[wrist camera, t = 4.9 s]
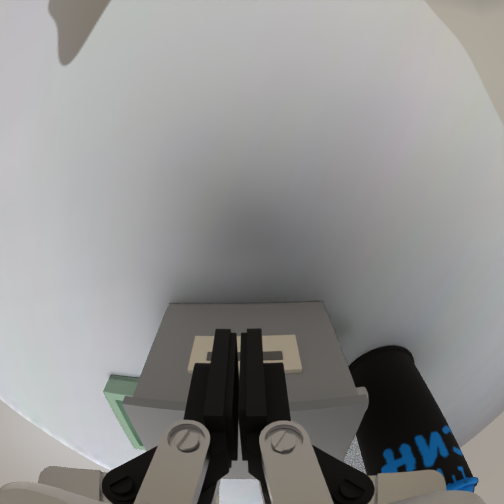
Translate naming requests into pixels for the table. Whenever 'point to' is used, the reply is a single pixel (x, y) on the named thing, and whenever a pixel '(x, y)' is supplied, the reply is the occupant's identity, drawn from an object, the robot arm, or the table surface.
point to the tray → (115, 395)
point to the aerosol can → (405, 421)
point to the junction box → (274, 351)
